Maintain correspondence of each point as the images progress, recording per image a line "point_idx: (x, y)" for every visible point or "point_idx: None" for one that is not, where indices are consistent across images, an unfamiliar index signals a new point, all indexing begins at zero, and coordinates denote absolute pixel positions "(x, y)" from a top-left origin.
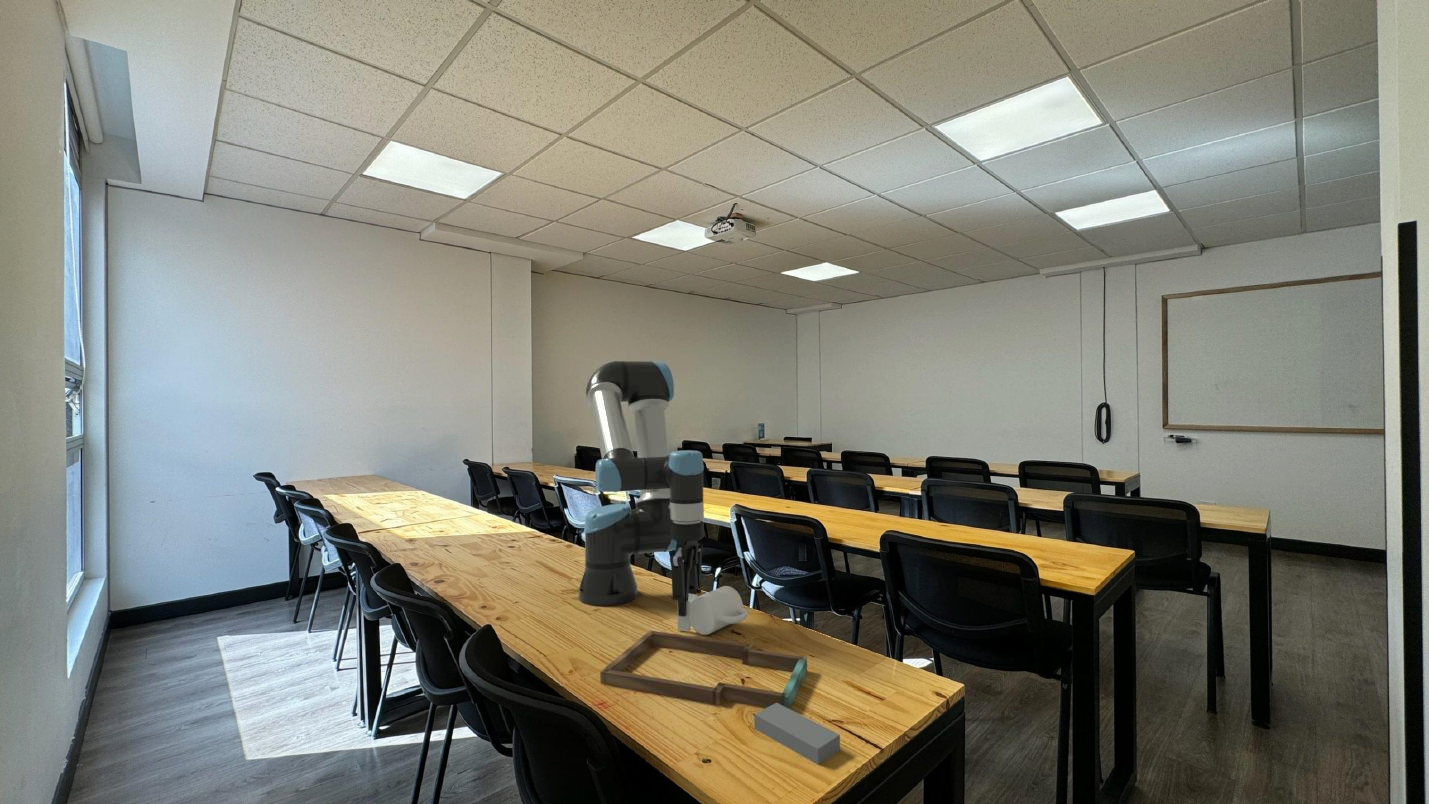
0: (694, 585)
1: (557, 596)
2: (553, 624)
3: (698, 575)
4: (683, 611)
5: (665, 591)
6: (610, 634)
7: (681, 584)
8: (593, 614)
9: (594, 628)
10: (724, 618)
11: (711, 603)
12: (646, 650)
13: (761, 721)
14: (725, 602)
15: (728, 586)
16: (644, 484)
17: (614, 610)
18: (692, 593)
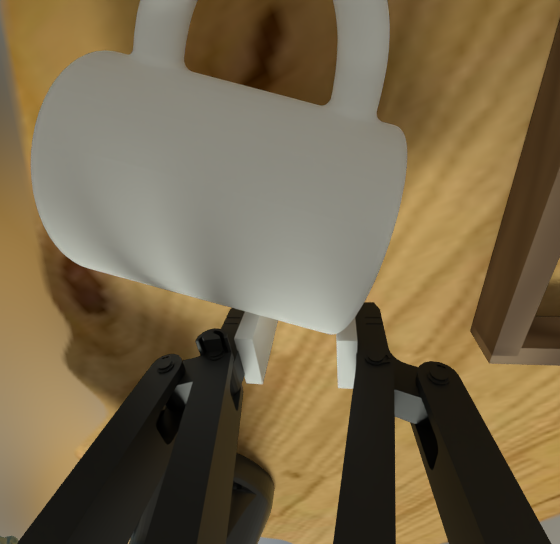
0: (228, 391)
1: (267, 524)
2: (400, 505)
3: (143, 430)
4: (380, 322)
5: (113, 407)
6: None
7: (527, 507)
8: (320, 473)
9: (399, 455)
10: (383, 59)
11: (378, 194)
12: (553, 317)
13: None
14: (245, 124)
15: (41, 205)
16: None
17: (280, 452)
18: (239, 359)
